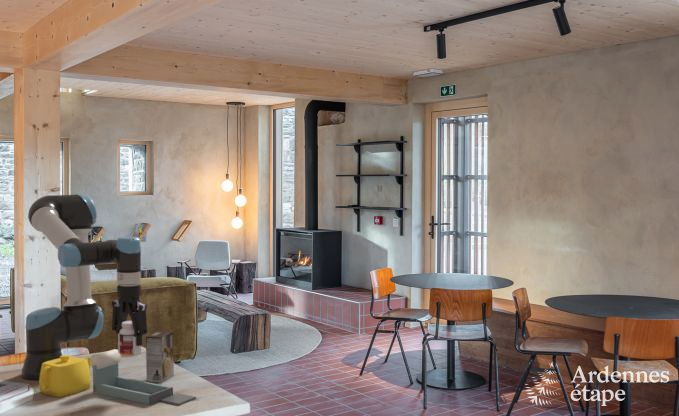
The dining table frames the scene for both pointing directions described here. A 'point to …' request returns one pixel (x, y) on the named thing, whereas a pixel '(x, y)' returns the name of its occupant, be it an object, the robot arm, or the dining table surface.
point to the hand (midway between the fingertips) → (129, 353)
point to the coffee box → (159, 356)
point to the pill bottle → (126, 339)
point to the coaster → (177, 399)
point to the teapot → (65, 376)
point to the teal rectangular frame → (123, 381)
